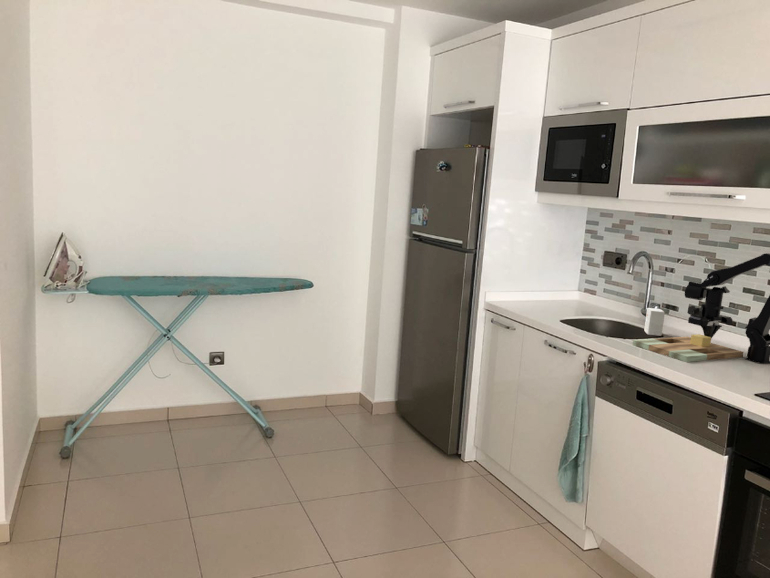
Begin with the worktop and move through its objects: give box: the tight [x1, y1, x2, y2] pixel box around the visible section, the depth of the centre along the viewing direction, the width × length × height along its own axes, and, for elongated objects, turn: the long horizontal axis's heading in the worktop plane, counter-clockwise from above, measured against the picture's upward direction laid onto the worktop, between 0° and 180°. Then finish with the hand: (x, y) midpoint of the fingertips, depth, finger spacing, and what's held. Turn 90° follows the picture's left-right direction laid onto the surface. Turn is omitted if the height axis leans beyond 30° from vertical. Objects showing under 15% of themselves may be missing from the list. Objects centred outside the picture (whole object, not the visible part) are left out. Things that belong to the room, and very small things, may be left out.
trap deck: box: [632, 336, 744, 363], centre depth 241 cm, size 24×32×2 cm
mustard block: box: [690, 333, 712, 347], centre depth 243 cm, size 5×5×4 cm
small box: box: [644, 307, 666, 337], centre depth 268 cm, size 8×6×10 cm
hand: (707, 341), depth 245 cm, fingers closed
